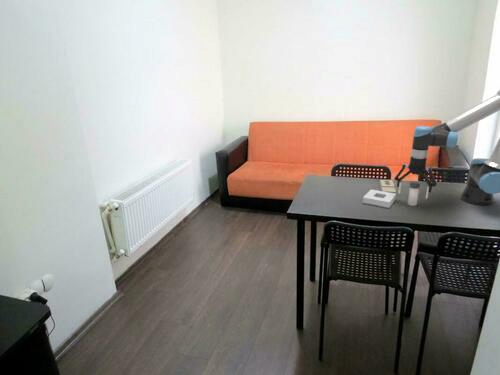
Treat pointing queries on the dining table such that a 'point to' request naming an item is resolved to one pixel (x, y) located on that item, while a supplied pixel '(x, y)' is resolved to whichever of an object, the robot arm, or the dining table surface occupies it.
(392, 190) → the electrical outlet
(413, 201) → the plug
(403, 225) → the dining table surface
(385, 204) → the socket block
